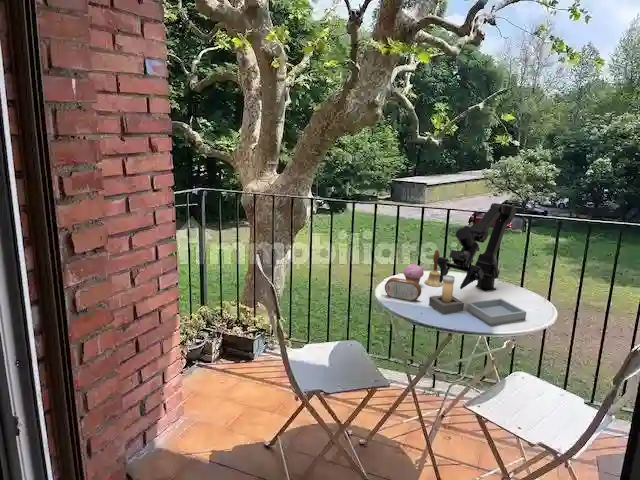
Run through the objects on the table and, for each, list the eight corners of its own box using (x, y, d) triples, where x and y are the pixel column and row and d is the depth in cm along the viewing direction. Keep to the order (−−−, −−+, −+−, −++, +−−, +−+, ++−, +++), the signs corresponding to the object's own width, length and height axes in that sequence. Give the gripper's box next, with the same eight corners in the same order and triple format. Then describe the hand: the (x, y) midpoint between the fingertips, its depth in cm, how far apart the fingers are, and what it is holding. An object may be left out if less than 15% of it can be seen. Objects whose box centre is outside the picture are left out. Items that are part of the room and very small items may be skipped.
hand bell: (446, 283, 213) (449, 249, 209) (438, 288, 206) (441, 253, 202) (429, 279, 218) (432, 246, 214) (421, 284, 211) (423, 250, 207)
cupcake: (405, 281, 214) (407, 260, 212) (424, 284, 211) (426, 263, 208) (400, 287, 206) (401, 266, 204) (419, 290, 203) (421, 269, 200)
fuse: (447, 305, 187) (450, 274, 184) (454, 309, 183) (457, 278, 180) (438, 306, 186) (440, 275, 183) (444, 310, 182) (447, 279, 179)
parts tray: (499, 306, 187) (500, 298, 186) (525, 320, 175) (526, 311, 174) (466, 311, 182) (467, 302, 181) (490, 326, 169) (491, 317, 168)
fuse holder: (449, 302, 191) (450, 294, 190) (463, 311, 182) (464, 303, 181) (428, 304, 188) (429, 296, 187) (442, 314, 179) (443, 305, 178)
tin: (420, 300, 192) (422, 281, 190) (419, 303, 189) (420, 283, 187) (385, 294, 198) (386, 275, 196) (383, 297, 195) (384, 278, 193)
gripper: (440, 237, 189) (423, 268, 185) (483, 247, 176) (466, 280, 172) (448, 252, 197) (432, 283, 192) (490, 262, 184) (474, 295, 179)
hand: (450, 285), depth 183 cm, fingers open, 9 cm apart
